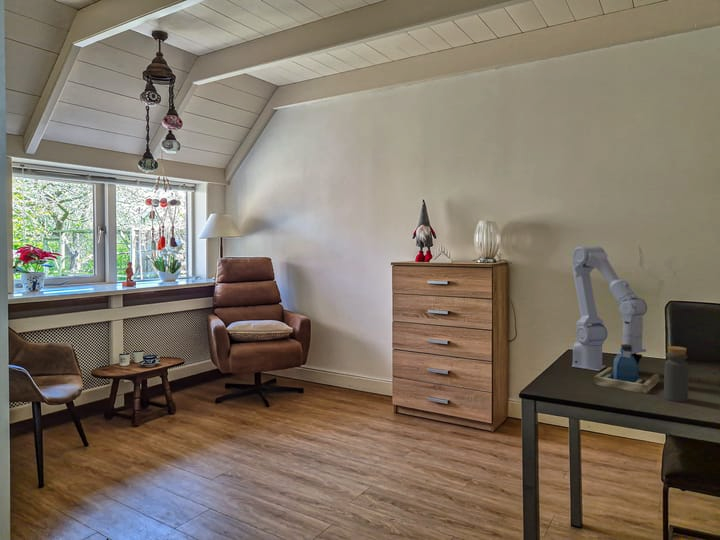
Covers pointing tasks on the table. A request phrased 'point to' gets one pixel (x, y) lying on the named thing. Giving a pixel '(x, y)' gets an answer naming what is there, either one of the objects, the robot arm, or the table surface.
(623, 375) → the perfume bottle
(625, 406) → the table surface
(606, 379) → the walled pen
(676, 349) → the bottle
